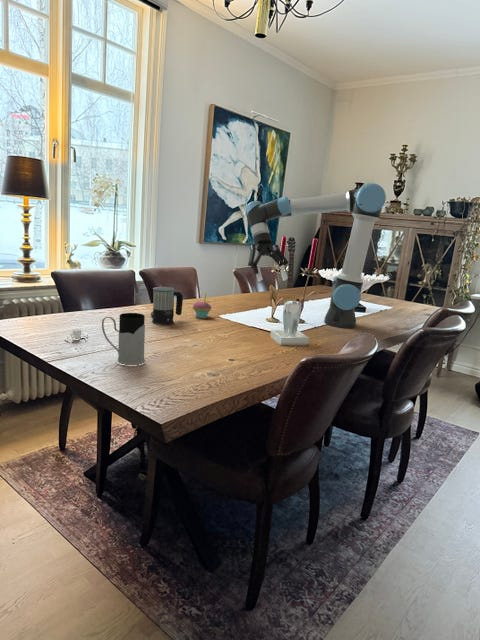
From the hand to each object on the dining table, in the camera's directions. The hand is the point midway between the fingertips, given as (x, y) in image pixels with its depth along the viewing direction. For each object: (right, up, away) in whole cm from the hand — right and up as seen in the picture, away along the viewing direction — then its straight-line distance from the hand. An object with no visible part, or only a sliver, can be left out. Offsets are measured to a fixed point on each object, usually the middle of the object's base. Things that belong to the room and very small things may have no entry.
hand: (273, 280), depth 186 cm
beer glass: (+6, -25, -12) cm, 28 cm away
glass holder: (-51, -30, -49) cm, 77 cm away
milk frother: (-49, -17, +5) cm, 52 cm away
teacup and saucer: (-69, -25, -32) cm, 80 cm away
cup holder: (+5, -25, -12) cm, 29 cm away
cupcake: (-32, -16, +16) cm, 39 cm away
